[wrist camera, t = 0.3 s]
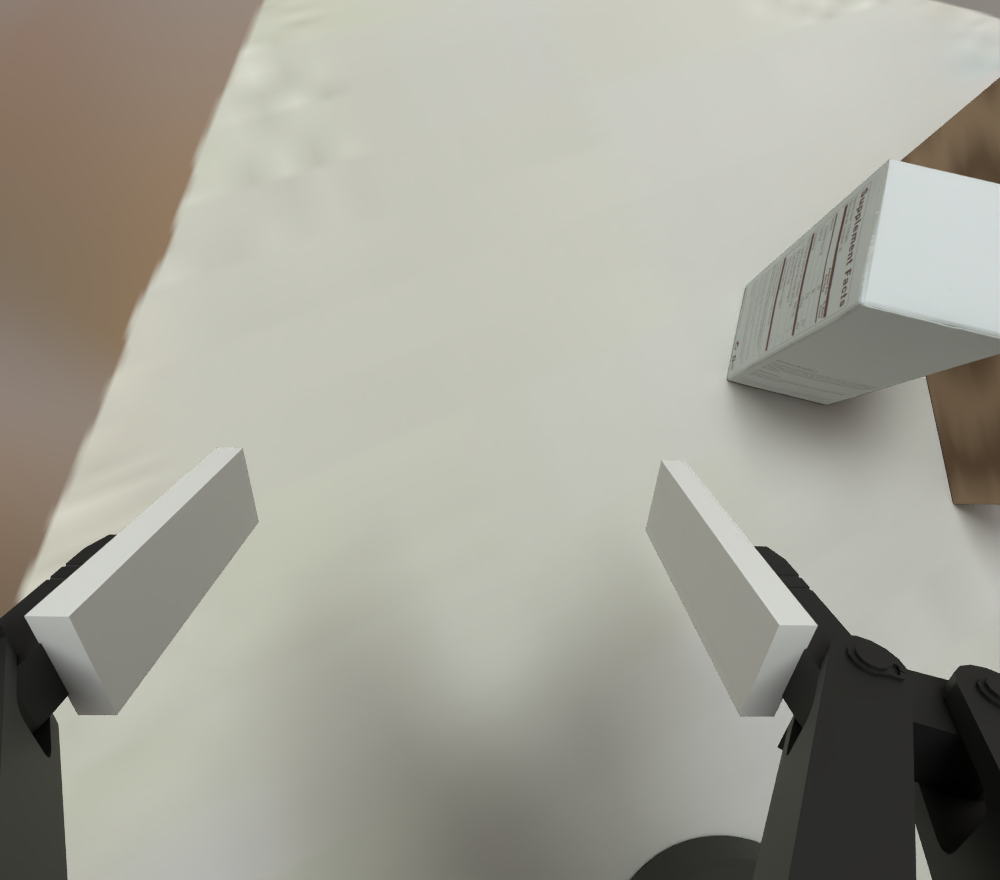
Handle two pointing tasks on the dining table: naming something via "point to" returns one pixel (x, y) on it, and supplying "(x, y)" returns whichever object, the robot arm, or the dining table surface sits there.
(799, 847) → the robot arm
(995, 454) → the walnut screen
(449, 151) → the dining table surface
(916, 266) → the supplement box
